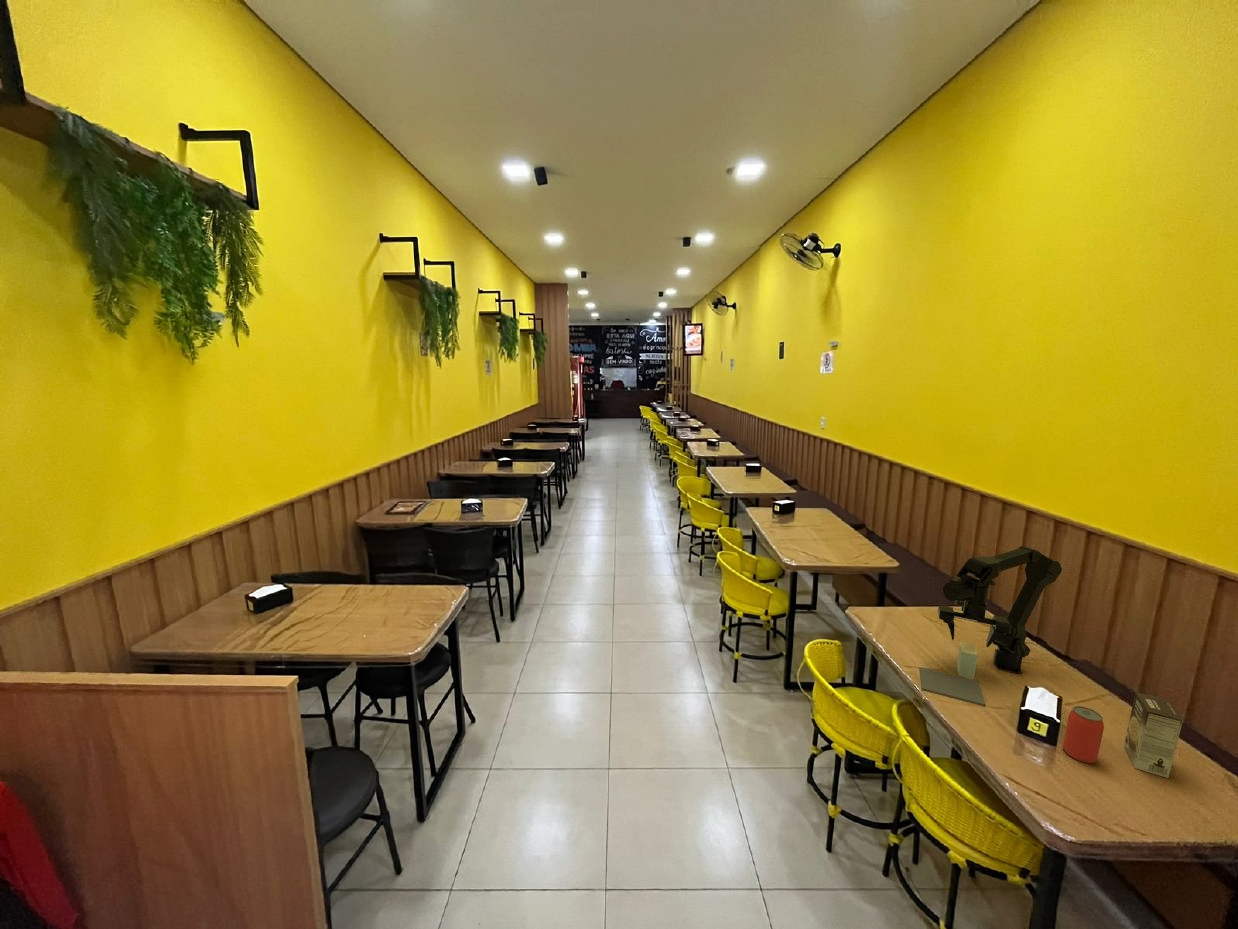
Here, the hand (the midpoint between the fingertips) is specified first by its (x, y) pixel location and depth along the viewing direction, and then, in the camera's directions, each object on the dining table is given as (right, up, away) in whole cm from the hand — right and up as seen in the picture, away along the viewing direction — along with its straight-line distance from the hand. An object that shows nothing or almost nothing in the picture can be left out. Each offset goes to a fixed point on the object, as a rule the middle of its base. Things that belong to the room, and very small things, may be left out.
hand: (969, 643), depth 160 cm
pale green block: (0, -10, +2) cm, 11 cm away
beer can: (+5, -17, -33) cm, 37 cm away
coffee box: (+19, -17, -35) cm, 44 cm away
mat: (-10, -12, -5) cm, 16 cm away
